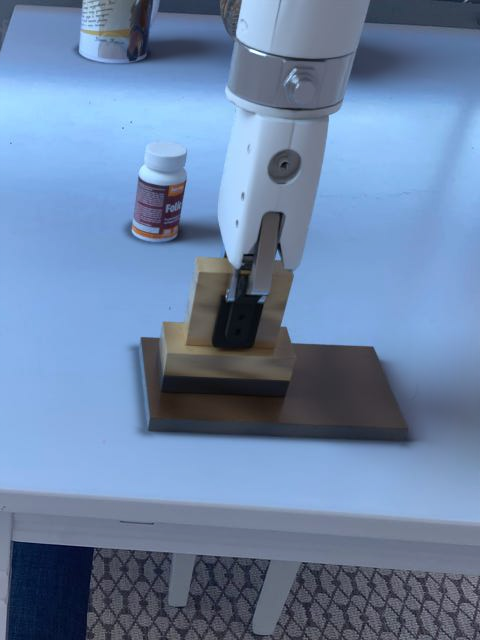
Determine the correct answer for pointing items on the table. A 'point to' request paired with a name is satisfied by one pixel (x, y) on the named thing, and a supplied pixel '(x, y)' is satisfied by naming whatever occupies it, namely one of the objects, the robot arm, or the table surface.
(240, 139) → the robot arm
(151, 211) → the pill bottle
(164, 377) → the wooden handled stamp
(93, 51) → the mug
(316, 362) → the board
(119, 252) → the table surface
